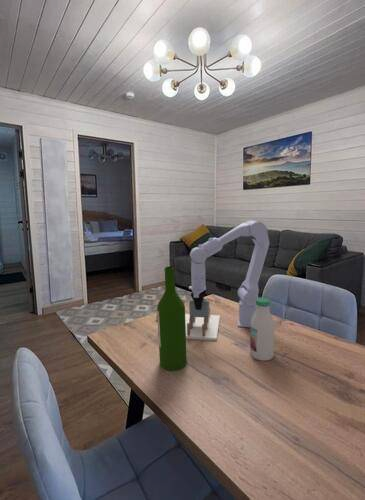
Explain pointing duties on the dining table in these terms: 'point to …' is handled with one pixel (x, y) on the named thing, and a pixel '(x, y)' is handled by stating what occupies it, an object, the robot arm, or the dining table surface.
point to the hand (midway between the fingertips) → (199, 308)
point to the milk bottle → (262, 331)
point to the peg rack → (202, 327)
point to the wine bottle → (171, 326)
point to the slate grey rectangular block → (199, 313)
